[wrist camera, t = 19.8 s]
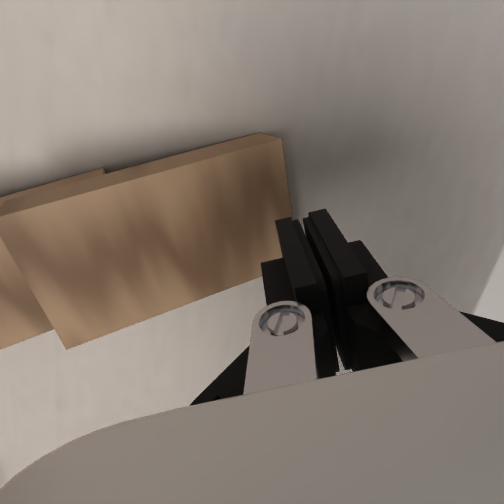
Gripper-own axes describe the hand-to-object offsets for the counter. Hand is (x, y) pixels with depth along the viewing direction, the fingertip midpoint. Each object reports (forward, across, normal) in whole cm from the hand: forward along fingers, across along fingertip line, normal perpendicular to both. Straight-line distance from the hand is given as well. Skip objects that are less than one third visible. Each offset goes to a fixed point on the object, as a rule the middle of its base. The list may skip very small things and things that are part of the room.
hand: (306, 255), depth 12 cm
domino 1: (+6, 0, 0) cm, 6 cm away
